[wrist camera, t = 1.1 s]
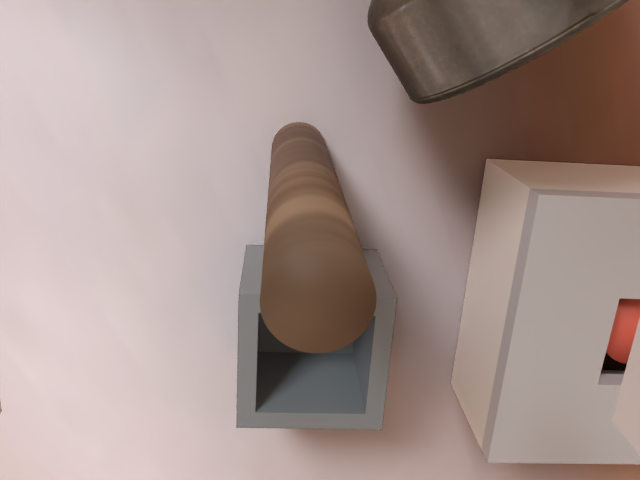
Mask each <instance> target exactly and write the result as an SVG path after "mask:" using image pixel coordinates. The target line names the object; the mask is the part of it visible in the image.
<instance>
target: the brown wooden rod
mask: <svg viewBox="0 0 640 480" xmlns="http://www.w3.org/2000/svg"><path fill="white" fill-rule="evenodd" d="M376 298H377V297H376V289H375V285H374V282H373V279H372V276H371V273H370V270H369V268H368V265H367V262H366V259H365V256H364V253H363V250H362V247H361V245H360V242H359V239H358V236H357V233H356V230H355V227H354V225H353V222H352V219H351V216H350V213H349V210H348V207H347V204H346V202H345V199H344V196H343V193H342V190H341V187H340V184H339V181H338V179H337V176H336V173H335V170H334V167H333V164H332V161H331V158H330V156H329V153H328V150H327V147H326V144H325V141H324V139H323V137H322V135H321V133H320V132H319V131H318V130H317V129H316V128H315V127H313V126H311V125H309V124H306V123H301V122H296V123H291V124H288V125H286V126H284V127H283V128H282V129H280V130H279V132H278V133H277V134H276V136H275V138H274V140H273V143H272V152H271V165H270V178H269V190H268V203H267V215H266V228H265V241H264V253H263V266H262V278H261V291H260V310H261V314H262V317H263V320H264V322H265V324H266V326H267V328H268V329H269V331H270V332H271V333H272V334H273V335H274V336H275V337H276V338H277V339H278V340H279V341H280V342H282V343H283V344H285V345H287V346H289V347H291V348H293V349H296V350H299V351H302V352H307V353H325V352H331V351H335V350H338V349H340V348H343V347H345V346H347V345H349V344H350V343H352V342H353V341H355V340H356V339H357V338H358V337H359V336H361V335H362V333H363V332H364V331H365V330H366V329H367V327H368V326H369V324H370V322H371V320H372V318H373V316H374V312H375V308H376Z"/></svg>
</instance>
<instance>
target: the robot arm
mask: <svg viewBox="0 0 640 480" xmlns="http://www.w3.org/2000/svg"><path fill="white" fill-rule="evenodd" d="M1 411H2V410H1V403H0V413H1ZM612 422H613V424H614V425H615V426H616V427H617V428H618V430H619V431H620V432H621V433H622V435H623V436H624V437H625V438H626V439H627V441H628V442H629V443H630V444H631V446H632V447H633V448H634V449H635V450H636V452H637V453H638V454H639V455H640V318H639V322H638V326H637V329H636V333H635V337H634V340H633V344H632V348H631V351H630V355H629V359H628V362H627V366H626V370H625V373H624V377H623V380H622V384H621V388H620V391H619V395H618V399H617V402H616V406H615V410H614V413H613V417H612Z"/></svg>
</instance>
